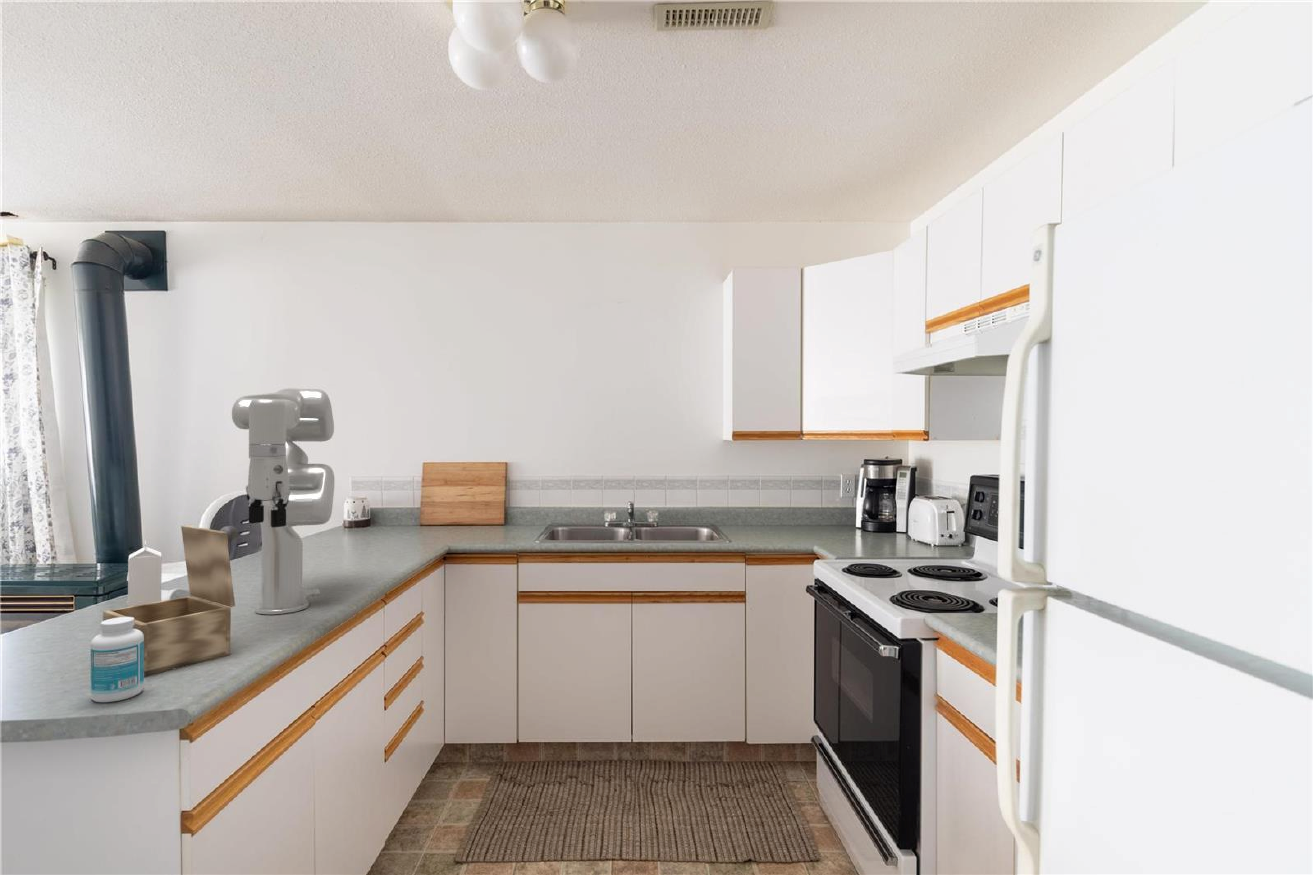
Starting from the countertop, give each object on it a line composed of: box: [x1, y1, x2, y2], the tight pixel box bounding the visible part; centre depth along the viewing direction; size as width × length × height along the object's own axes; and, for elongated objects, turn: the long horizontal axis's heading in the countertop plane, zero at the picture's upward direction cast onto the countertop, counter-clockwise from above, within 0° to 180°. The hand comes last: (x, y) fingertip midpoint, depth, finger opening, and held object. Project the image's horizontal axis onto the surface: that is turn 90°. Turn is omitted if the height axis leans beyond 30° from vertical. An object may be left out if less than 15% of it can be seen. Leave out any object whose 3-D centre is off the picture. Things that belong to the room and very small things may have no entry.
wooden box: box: [102, 596, 232, 678], centre depth 139 cm, size 16×18×10 cm
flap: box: [181, 525, 240, 608], centre depth 148 cm, size 16×18×7 cm
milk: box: [127, 539, 163, 607], centre depth 152 cm, size 6×6×22 cm
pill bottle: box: [90, 617, 145, 703], centre depth 119 cm, size 8×7×14 cm
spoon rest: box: [161, 588, 204, 601], centre depth 175 cm, size 24×12×7 cm, turn 20°
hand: (267, 524), depth 157 cm, fingers open, 9 cm apart
